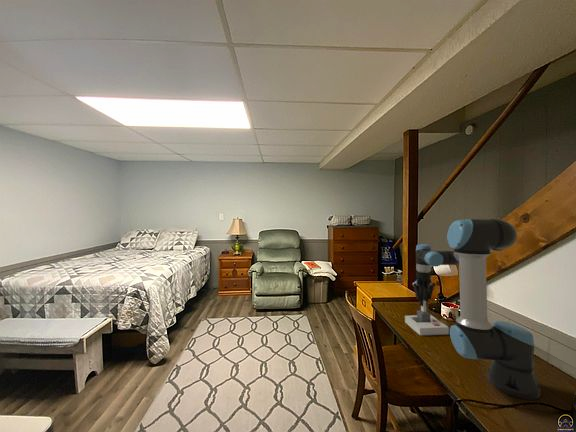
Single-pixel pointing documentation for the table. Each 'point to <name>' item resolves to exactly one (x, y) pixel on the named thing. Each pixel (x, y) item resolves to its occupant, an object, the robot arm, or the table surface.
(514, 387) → the robot arm
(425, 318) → the plug
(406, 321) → the socket plate
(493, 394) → the table surface
